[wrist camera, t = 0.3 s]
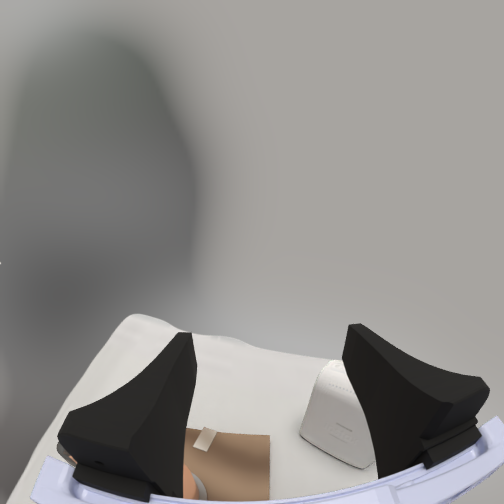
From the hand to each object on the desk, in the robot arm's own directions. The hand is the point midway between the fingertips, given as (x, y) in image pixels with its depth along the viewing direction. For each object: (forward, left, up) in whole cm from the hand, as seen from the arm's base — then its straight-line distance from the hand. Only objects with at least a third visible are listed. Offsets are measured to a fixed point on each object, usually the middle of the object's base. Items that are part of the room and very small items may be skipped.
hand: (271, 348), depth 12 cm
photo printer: (+5, -10, -21) cm, 24 cm away
